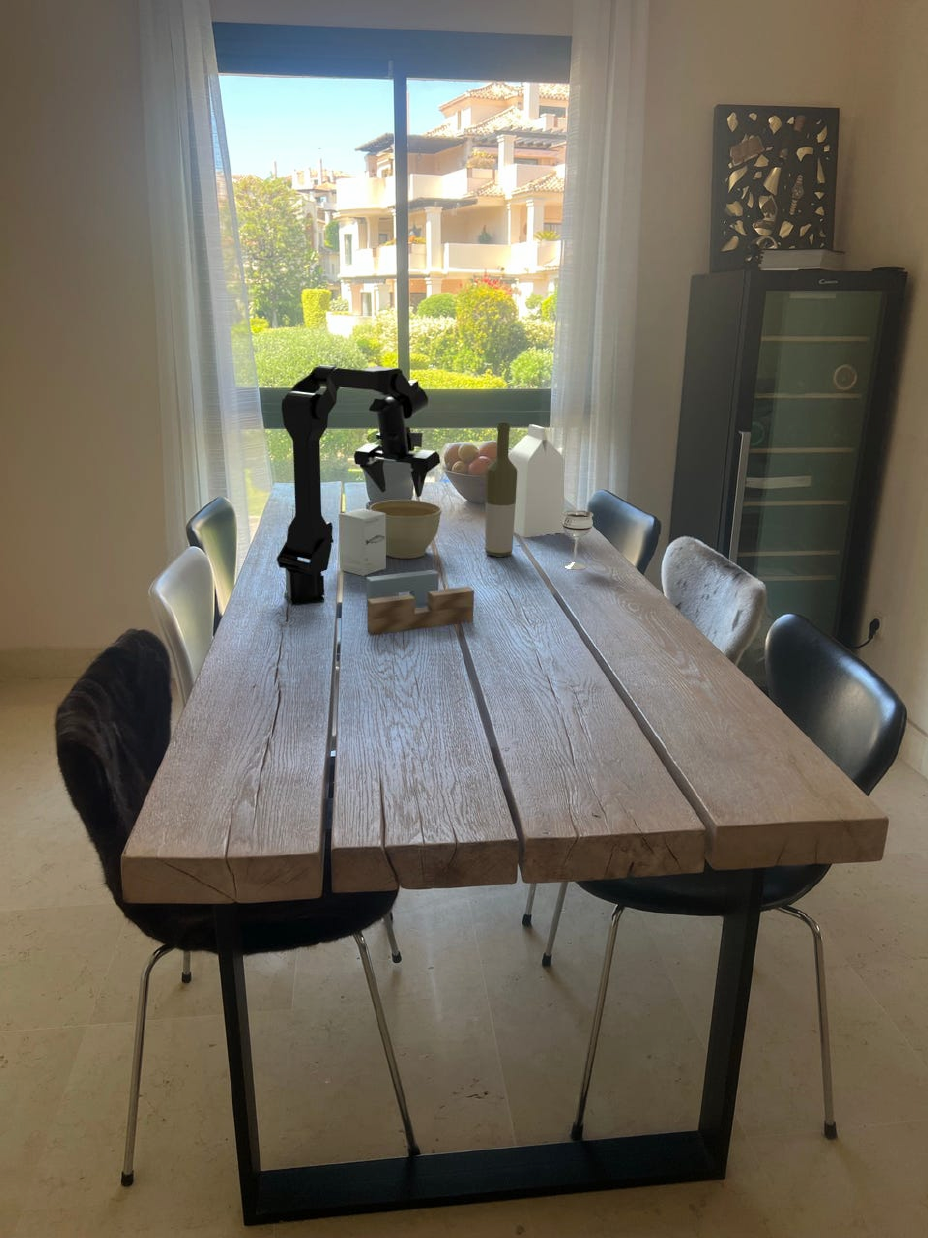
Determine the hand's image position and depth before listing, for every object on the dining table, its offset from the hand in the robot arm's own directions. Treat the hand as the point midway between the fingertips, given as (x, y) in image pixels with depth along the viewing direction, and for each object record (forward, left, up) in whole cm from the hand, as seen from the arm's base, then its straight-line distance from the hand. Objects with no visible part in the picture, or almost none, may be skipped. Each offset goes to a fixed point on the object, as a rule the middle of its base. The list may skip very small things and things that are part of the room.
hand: (401, 494), depth 207 cm
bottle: (+23, -4, -15) cm, 27 cm away
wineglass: (+35, -18, -15) cm, 42 cm away
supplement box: (-10, -4, -15) cm, 19 cm away
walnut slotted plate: (-11, -40, -15) cm, 44 cm away
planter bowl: (+3, +4, -15) cm, 16 cm away
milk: (+41, +13, -15) cm, 45 cm away
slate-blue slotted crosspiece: (-10, -28, -15) cm, 33 cm away
